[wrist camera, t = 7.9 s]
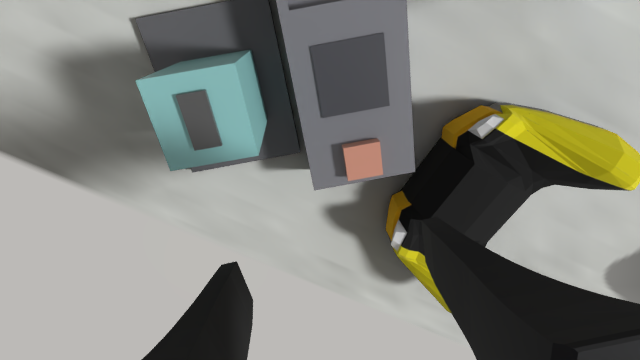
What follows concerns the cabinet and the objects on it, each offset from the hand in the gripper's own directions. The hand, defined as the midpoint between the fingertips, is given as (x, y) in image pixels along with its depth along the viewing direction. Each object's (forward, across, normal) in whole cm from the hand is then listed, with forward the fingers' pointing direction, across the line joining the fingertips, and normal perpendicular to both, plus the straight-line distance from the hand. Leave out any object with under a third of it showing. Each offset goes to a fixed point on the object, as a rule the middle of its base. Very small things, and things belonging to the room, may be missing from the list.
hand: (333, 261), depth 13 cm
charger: (+10, +4, -6) cm, 12 cm away
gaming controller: (+11, -10, +5) cm, 16 cm away
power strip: (+10, -3, -7) cm, 13 cm away
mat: (+10, +4, -6) cm, 12 cm away
